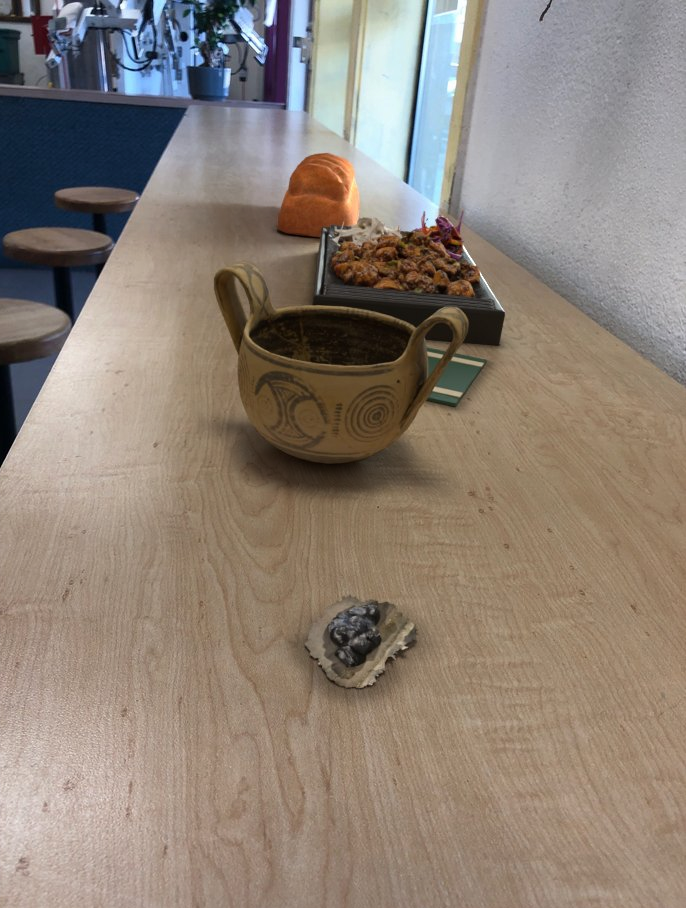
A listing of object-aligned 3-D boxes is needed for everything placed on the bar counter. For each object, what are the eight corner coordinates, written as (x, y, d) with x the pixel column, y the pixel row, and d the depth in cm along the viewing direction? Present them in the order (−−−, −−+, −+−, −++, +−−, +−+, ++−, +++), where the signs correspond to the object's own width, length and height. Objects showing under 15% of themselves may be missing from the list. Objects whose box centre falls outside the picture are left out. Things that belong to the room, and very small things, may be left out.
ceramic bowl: (170, 450, 69) (167, 280, 62) (262, 390, 83) (269, 245, 76) (408, 521, 62) (437, 337, 54) (467, 443, 75) (497, 286, 68)
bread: (272, 234, 151) (276, 161, 145) (291, 207, 179) (295, 144, 172) (353, 242, 151) (360, 169, 144) (360, 213, 178) (366, 150, 171)
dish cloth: (486, 362, 96) (487, 358, 96) (455, 406, 83) (456, 402, 83) (334, 331, 102) (334, 328, 102) (283, 368, 89) (283, 364, 89)
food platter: (319, 252, 141) (324, 191, 136) (455, 264, 141) (465, 203, 136) (310, 329, 102) (317, 248, 97) (498, 345, 102) (515, 265, 97)
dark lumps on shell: (422, 617, 51) (426, 594, 50) (407, 702, 45) (412, 677, 44) (321, 597, 52) (324, 574, 52) (292, 677, 46) (294, 651, 45)
